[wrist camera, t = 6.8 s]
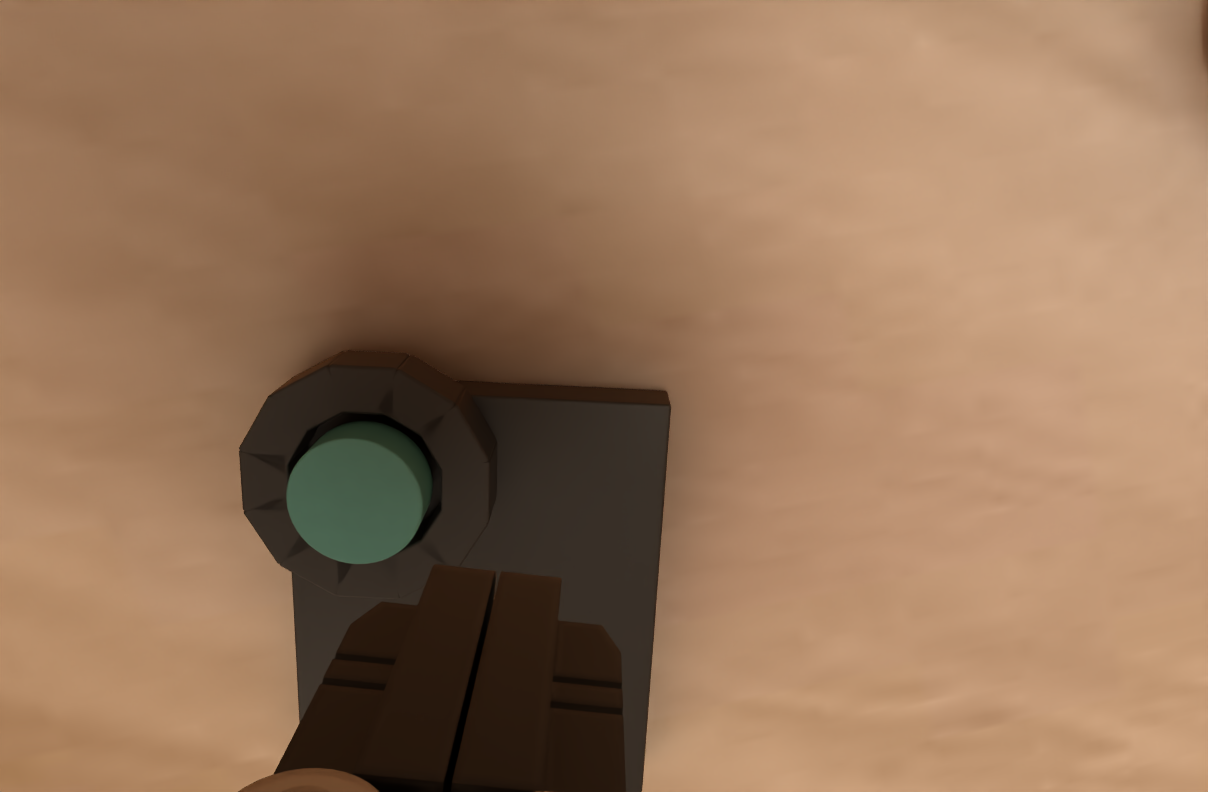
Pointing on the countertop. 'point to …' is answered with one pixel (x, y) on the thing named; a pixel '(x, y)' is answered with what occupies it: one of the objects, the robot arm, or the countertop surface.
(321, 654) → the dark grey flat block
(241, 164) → the countertop surface
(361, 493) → the button
